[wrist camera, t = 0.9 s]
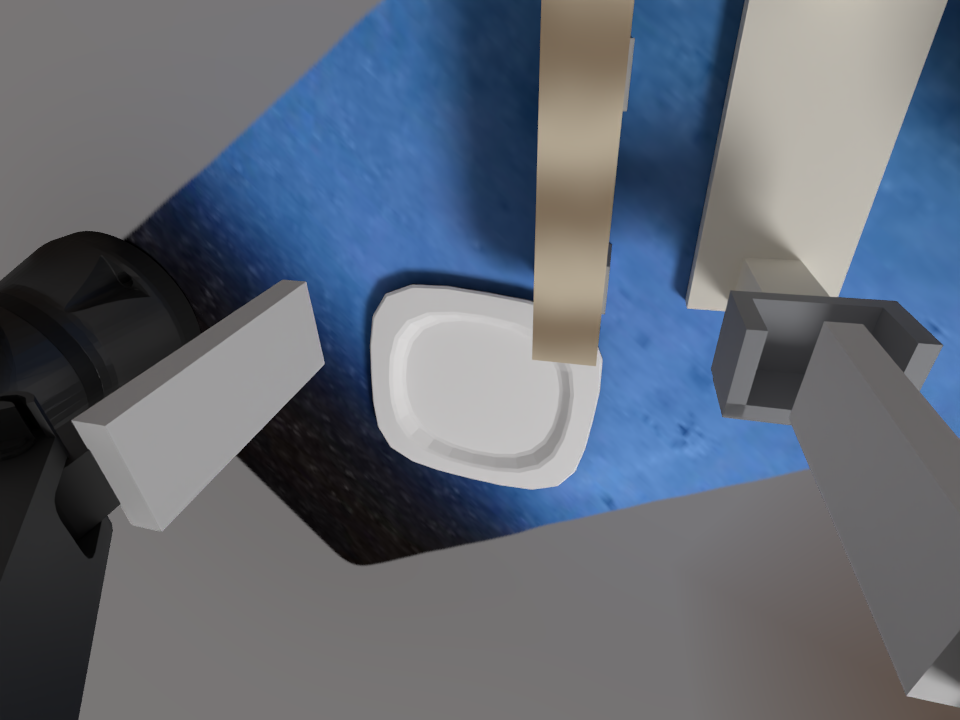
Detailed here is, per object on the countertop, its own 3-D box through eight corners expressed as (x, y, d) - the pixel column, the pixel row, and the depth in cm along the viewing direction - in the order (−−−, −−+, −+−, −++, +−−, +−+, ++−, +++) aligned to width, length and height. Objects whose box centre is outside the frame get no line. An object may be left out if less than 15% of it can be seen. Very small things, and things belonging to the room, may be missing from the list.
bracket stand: (684, 304, 33) (708, 415, 23) (768, -122, 22) (882, -259, 12) (821, 314, 31) (911, 439, 21) (986, -145, 20) (1325, -327, 10)
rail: (599, 335, 31) (596, 366, 28) (540, 330, 32) (531, 359, 29) (634, -2, 22) (635, -10, 19) (552, 2, 23) (541, -4, 20)
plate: (373, 264, 37) (363, 272, 36) (619, 306, 34) (619, 317, 33) (381, 444, 47) (374, 457, 46) (573, 490, 44) (571, 504, 43)
